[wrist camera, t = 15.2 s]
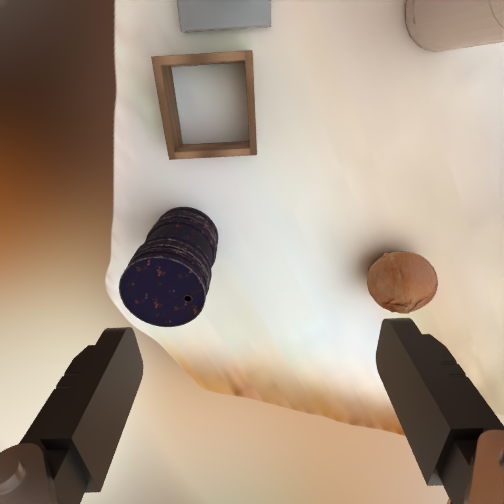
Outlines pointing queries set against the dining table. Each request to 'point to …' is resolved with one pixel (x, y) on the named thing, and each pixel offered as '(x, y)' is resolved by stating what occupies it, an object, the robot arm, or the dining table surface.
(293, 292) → the dining table surface
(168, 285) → the dark blue cylinder
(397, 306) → the onion
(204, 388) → the dining table surface
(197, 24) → the blue-grey square panel
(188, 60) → the crate
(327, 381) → the dining table surface
